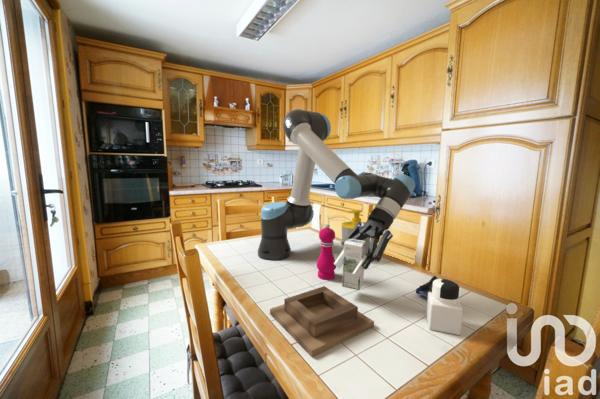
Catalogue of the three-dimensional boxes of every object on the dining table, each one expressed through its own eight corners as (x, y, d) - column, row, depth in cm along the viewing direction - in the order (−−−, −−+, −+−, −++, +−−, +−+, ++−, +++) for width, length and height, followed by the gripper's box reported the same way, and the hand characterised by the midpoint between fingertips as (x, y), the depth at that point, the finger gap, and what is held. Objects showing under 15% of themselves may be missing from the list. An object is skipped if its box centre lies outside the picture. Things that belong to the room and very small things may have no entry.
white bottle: (454, 320, 73) (458, 278, 72) (460, 336, 67) (465, 290, 65) (425, 315, 76) (429, 274, 74) (429, 330, 69) (432, 285, 67)
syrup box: (363, 283, 87) (366, 240, 85) (359, 291, 82) (362, 245, 79) (346, 279, 89) (348, 237, 87) (341, 287, 84) (343, 242, 82)
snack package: (467, 306, 81) (443, 287, 92) (466, 287, 80) (442, 270, 91) (429, 314, 80) (410, 294, 92) (427, 295, 79) (408, 277, 90)
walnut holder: (269, 313, 76) (269, 297, 75) (325, 294, 87) (325, 280, 86) (311, 357, 59) (311, 336, 58) (373, 326, 70) (374, 308, 69)
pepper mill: (335, 281, 96) (336, 227, 93) (315, 279, 98) (315, 225, 95) (336, 273, 103) (337, 222, 100) (317, 271, 105) (318, 221, 102)
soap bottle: (339, 251, 128) (340, 207, 125) (366, 251, 127) (368, 207, 124) (342, 261, 115) (344, 213, 112) (373, 262, 114) (375, 213, 111)
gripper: (416, 228, 82) (377, 290, 76) (365, 215, 99) (330, 265, 93) (406, 212, 79) (365, 277, 72) (356, 202, 96) (318, 254, 89)
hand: (345, 270), depth 83 cm, fingers closed on syrup box, 8 cm apart
